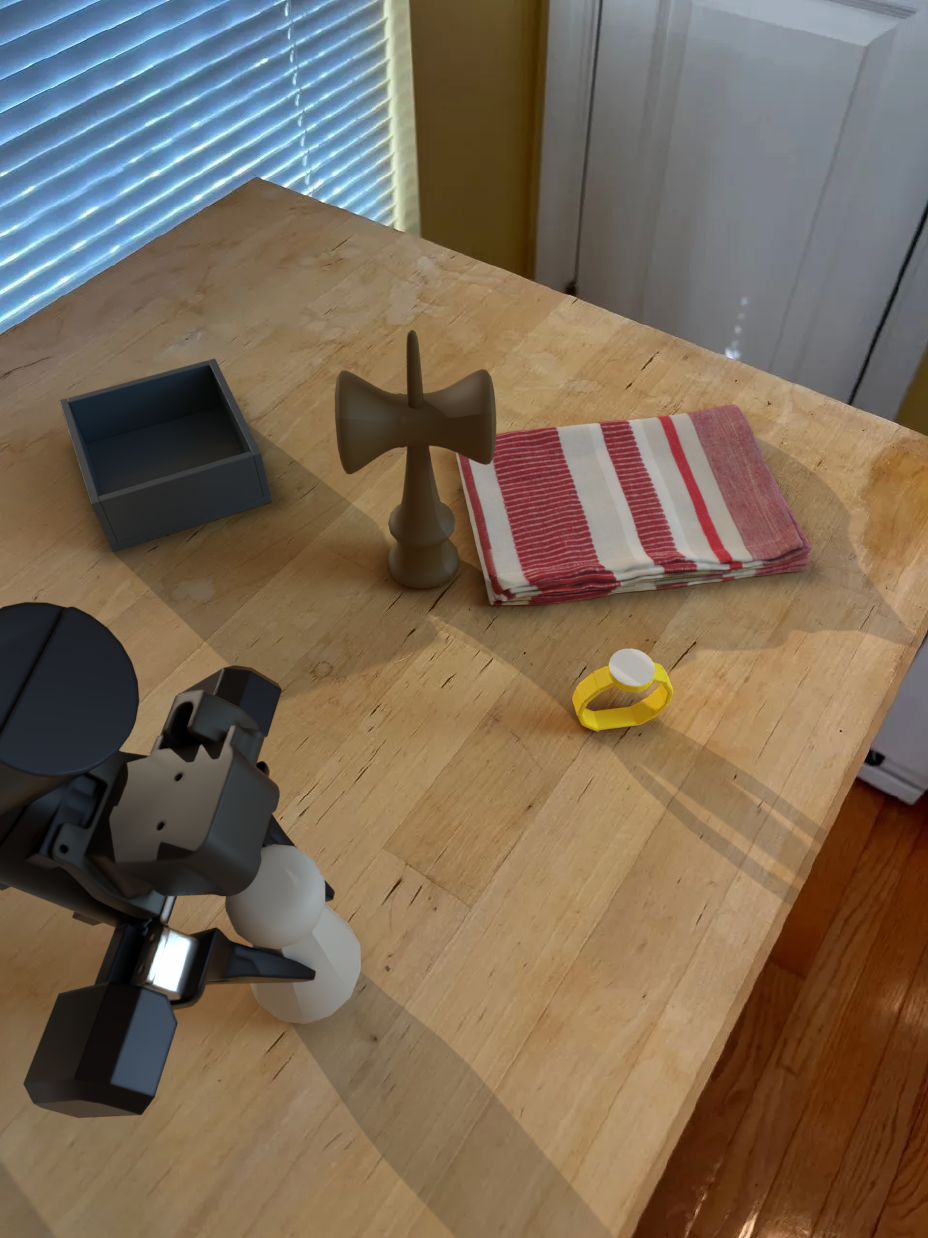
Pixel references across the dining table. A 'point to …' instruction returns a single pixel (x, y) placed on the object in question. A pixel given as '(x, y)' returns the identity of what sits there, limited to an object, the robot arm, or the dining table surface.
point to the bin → (165, 454)
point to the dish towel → (628, 508)
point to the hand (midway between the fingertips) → (319, 937)
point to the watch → (629, 675)
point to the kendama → (417, 456)
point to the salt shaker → (296, 935)
